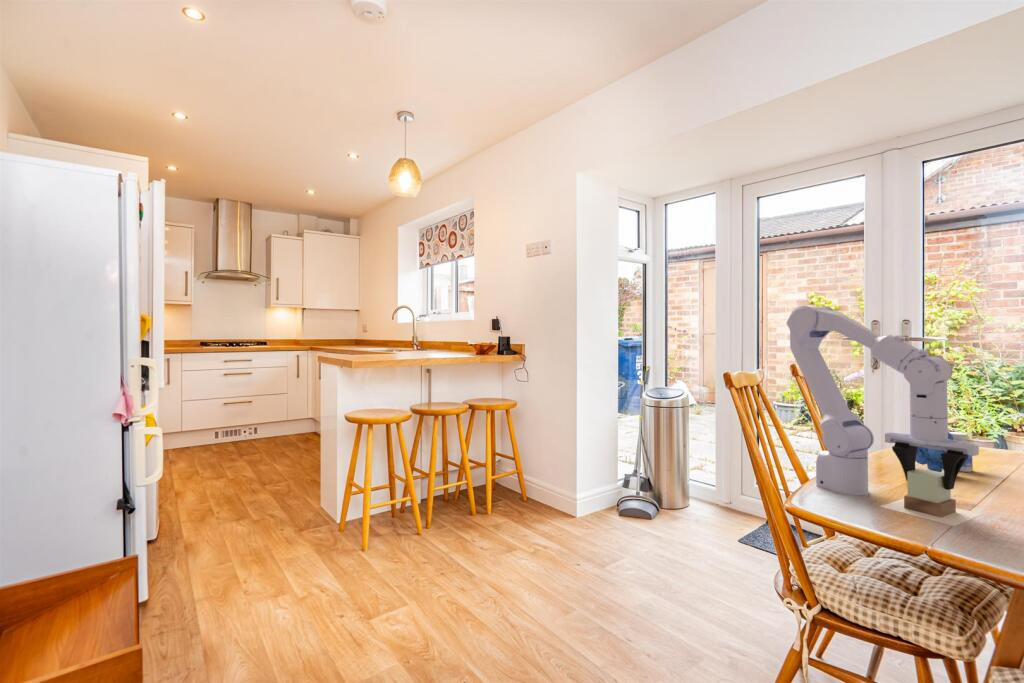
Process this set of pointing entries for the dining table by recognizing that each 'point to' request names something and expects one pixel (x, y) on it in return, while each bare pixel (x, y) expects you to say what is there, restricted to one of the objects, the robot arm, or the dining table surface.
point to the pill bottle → (963, 438)
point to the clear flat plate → (950, 519)
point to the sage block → (927, 485)
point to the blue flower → (932, 457)
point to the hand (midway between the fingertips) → (929, 484)
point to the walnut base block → (930, 506)
